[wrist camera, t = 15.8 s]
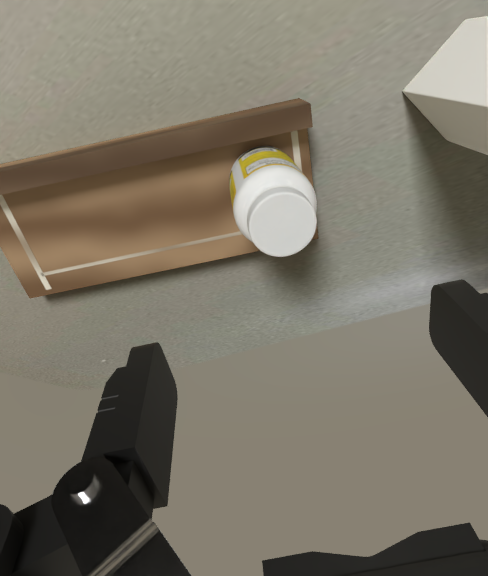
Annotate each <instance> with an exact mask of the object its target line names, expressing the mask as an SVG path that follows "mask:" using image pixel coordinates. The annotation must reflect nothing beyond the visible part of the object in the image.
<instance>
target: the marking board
mask: <svg viewBox="0 0 488 576" xmlns="http://www.w3.org/2000/svg"><path fill="white" fill-rule="evenodd" d="M310 127H313V126H312V115H311V105H310V103H308V102H306V101H304V100H302V99H300V98H298V99H293V100H289V101H284V102H280V103H275V104H271V105H266V106H262V107H257V108H253V109H248V110H243V111H239V112H234V113H230V114H225V115H221V116H216V117H212V118H207V119H203V120H198V121H194V122H189V123H185V124H180V125H176V126H171V127H166V128H162V129H157V130H153V131H148V132H144V133H139V134H135V135H130V136H126V137H121V138H117V139H112V140H108V141H103V142H99V143H94V144H89V145H85V146H80V147H76V148H71V149H67V150H62V151H58V152H53V153H49V154H44V155H40V156H35V157H31V158H26V159H22V160H17V161H12V162H8V163H3V164H0V247H1V249H2V251H3V252H4V254H5V256H6V258H7V259H8V261H9V263H10V265H11V266H12V268H13V270H14V272H15V273H16V275H17V277H18V279H19V280H20V282H21V284H22V286H23V288H24V289H25V291H26V293H27V295H28V296H29V298H34V297H39V296H44V295H49V294H54V293H59V292H63V291H68V290H73V289H78V288H83V287H87V286H92V285H97V284H102V283H107V282H112V281H116V280H121V279H126V278H131V277H136V276H141V275H145V274H150V273H155V272H160V271H165V270H169V269H174V268H179V267H184V266H189V265H194V264H198V263H203V262H208V261H213V260H218V259H223V258H227V257H232V256H237V255H242V254H247V253H251V252H256V251H260V250H259V249H258V248H257V247H256V246H255V244H254V243H253V242H251V241H250V240H248V239H247V238H246V237H245V236H244V235H243V234H242V233H241V231H240V230H239V228H238V226H237V224H236V221H235V218H234V214H233V208H232V201H231V195H230V189H229V176H230V172H231V169H232V166H233V165H234V163H235V161H236V160H237V159H238V158H239V156H241V155H242V154H243V153H244V152H246V151H247V150H249V149H251V148H254V147H258V146H271V147H275V148H277V149H279V150H281V151H283V152H284V153H286V154H287V155H288V156H289V157H290V158H291V159H292V160H293V162H294V163H295V164H296V165H297V167H298V168H299V169H300V170H301V171H302V173H303V174H304V175H305V176H306V177H307V179H308V180H309V182H310V183H311V185H312V187H313V180H312V171H311V161H310V151H309V141H308V132H307V128H310ZM314 239H318V229H317V224H316V230H315V233H314V236H313V238H312V239H311V240H314Z"/></svg>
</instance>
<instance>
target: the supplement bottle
mask: <svg viewBox="0 0 488 576" xmlns="http://www.w3.org/2000/svg"><path fill="white" fill-rule="evenodd" d="M229 189H230V195H231V201H232V208H233V214H234V218H235V221H236V224H237V226H238V228H239V230H240V231H241V233H242V234H243V235H244V236H245V237H246V238H247V239H248V240H250V241H251V242H253V243H254V244H255V246H256V247H257V248H258V249H259V250H260V251H262V252H264V253H266V254H268V255H271V256H276V257H285V256H289V255H293V254H295V253H297V252H299V251H301V250H302V249H303V248H305V247H306V246H307V245H308V243H309V242H310V241H311V239H312V238H313V236H314V233H315V230H316V224H317V218H316V211H317V199H316V194H315V191H314V189H313V187H312V185H311V183H310V182H309V180H308V179H307V177H306V176H305V175H304V174H303V173H302V171H301V170H300V169H299V168H298V167H297V165H296V164H295V163H294V162H293V160H292V159H291V158H290V157H289V156H288V155H287V154H286V153H284V152H283V151H281V150H279V149H277V148H275V147H271V146H258V147H254V148H251V149H249V150H247V151H246V152H244V153H243V154H242V155H241V156H239V158H238V159H237V160H236V161H235V163H234V165H233V166H232V169H231V172H230V176H229Z"/></svg>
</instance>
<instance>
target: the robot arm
mask: <svg viewBox="0 0 488 576" xmlns="http://www.w3.org/2000/svg"><path fill="white" fill-rule="evenodd" d="M430 306H431V307H430V322H429V332H430V337H431V340H432V343H433V345H434V347H435V348H436V350H437V351H438V353H439V354H440V355H441V356H442V358H443V359H444V360H445V362H446V363H447V364H448V366H449V367H450V368H451V370H452V371H453V372H454V373H455V375H456V376H457V377H458V379H459V380H460V381H461V382H462V384H463V385H464V386H465V388H466V389H467V391H468V392H469V393H470V394H471V396H472V397H473V398H474V400H475V401H476V402H477V404H478V405H479V406H480V408H481V409H482V410H483V411H484V413H485V414H486V415H487V417H488V293H483V294H480V293H478V292H477V291H476V290H475V289H474V288H473V287H472V286H471V285H469V284H468V283H467V282H466V281H464V280H457V281H452V282H447V283H443V284H438V285H434V286H433V288H432V290H431V304H430ZM101 398H102V400H101V401H100V404H99V407H98V413H96V417H95V419H94V423H93V426H92V429H91V432H90V436H89V438H88V442H87V445H86V448H85V451H84V454H83V457H82V460H81V462H79V463H78V464H76V465H75V466H73V467H72V468H71V469H70V470H68V471H67V472H66V473H65V474H64V475H63V477H62V478H61V479H60V480H59V482H58V483H57V485H56V487H55V489H54V491H53V494H52V495H50V496H49V497H47V498H45V499H43V500H41V501H39V502H37V503H35V504H33V505H31V506H29V507H27V508H25V509H23V510H21V511H19V512H17V513H15V514H13V513H12V512H11V511H10V510H9V508H8V507H6V506H4V505H1V504H0V576H191V574H190V573H189V572H188V570H187V569H186V567H185V566H184V564H183V563H182V562H181V560H180V558H179V557H178V556H177V554H176V553H175V551H174V550H173V548H172V547H171V546H170V544H169V543H168V541H167V540H166V538H165V537H164V535H163V534H162V533H161V531H160V530H159V528H158V527H157V526H156V524H155V523H154V522H152V512H153V509H155V508H160V507H165V506H167V504H168V493H169V483H170V472H171V462H172V451H173V440H174V430H175V420H176V408H177V388H176V384H175V380H174V378H173V375H172V373H171V370H170V368H169V365H168V363H167V360H166V358H165V355H164V353H163V350H162V348H161V346H160V344H159V343H157V342H156V343H152V344H147V345H142V346H137V347H133V348H132V349H131V351H130V354H129V358H128V362H127V365H126V367H121V368H117V369H116V371H115V372H114V373H113V374H112V376H111V377H110V378H109V380H108V381H107V382H106V385H105V388H104V391H103V394H102V397H101ZM262 563H263V572H264V576H488V541H487V540H479V538H478V537H477V535H476V533H475V531H474V529H473V528H472V526H471V524H470V523H465V524H459V525H454V526H449V527H443V528H437V529H432V530H427V531H421V532H417V533H415V534H413V535H412V536H410V537H408V538H406V539H404V540H402V541H400V542H398V543H396V544H395V545H393V546H391V547H389V548H387V549H385V550H384V551H381V552H380V553H378V554H376V555H373V556H370V557H359V556H350V555H341V554H332V553H321V552H307V553H302V554H296V555H290V556H285V557H280V558H274V559H269V560H263V561H262Z"/></svg>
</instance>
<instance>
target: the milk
mask: <svg viewBox="0 0 488 576" xmlns="http://www.w3.org/2000/svg"><path fill="white" fill-rule="evenodd" d="M403 93H404V94H405V95H406V96H407V97H408V98H409V100H410V101H411V102H412V103H413V104H414V105H415V106H416V107H417V108H418V109H419V111H420V112H421V113H422V114H423V115H424V116H425V117H426V118H427V119H428V120H429V121H430V123H431V124H432V125H433V126H434V127H435V128H436V129H437V130H438V131H439V132H440V134H441V135H442V136H443V137H444V138H445V139H446V140H447V141H450V142H452V143H455V144H458V145H461V146H463V147H466V148H469V149H472V150H475V151H477V152H480V153H483V154H486V155H488V16H485V17H478V18H472V19H466V20H464V21H463V22H462V24H461V25H460V26H459V27H458V28H457V29H456V30H455V31H454V33H453V34H452V35H451V36H450V37H449V38H448V39H447V41H446V42H445V43H444V44H443V45H442V46H441V47H440V49H439V50H438V51H437V52H436V53H435V54H434V55H433V57H432V58H431V59H430V60H429V61H428V62H427V63H426V65H425V66H424V67H423V68H422V69H421V70H420V71H419V73H418V74H417V75H416V76H415V77H414V78H413V79H412V80H411V82H410V83H409V84H408V85H407V86H406V87H405V88H404V90H403Z"/></svg>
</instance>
